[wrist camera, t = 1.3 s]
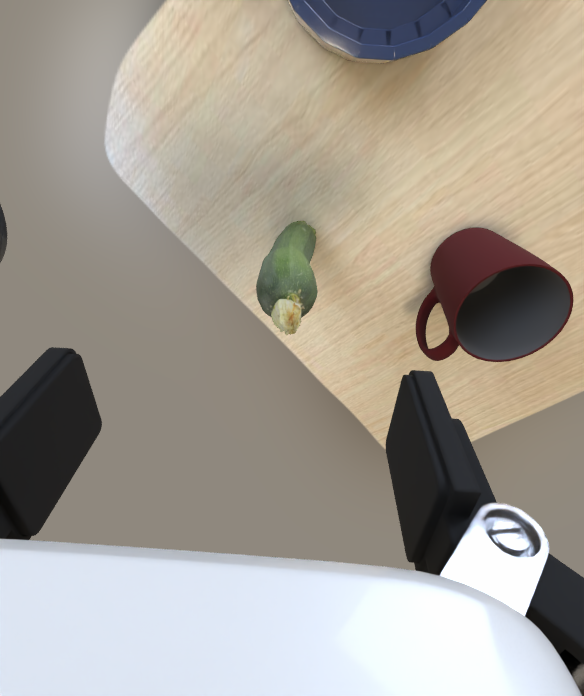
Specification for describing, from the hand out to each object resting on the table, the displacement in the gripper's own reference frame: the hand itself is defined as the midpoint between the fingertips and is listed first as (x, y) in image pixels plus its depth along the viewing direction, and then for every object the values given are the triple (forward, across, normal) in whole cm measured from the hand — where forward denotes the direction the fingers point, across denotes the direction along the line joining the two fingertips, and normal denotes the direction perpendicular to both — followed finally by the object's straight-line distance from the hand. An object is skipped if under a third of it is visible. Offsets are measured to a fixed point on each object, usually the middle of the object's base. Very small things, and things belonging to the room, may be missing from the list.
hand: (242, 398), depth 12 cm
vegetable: (+31, 0, +4) cm, 31 cm away
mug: (+31, -17, +8) cm, 36 cm away
